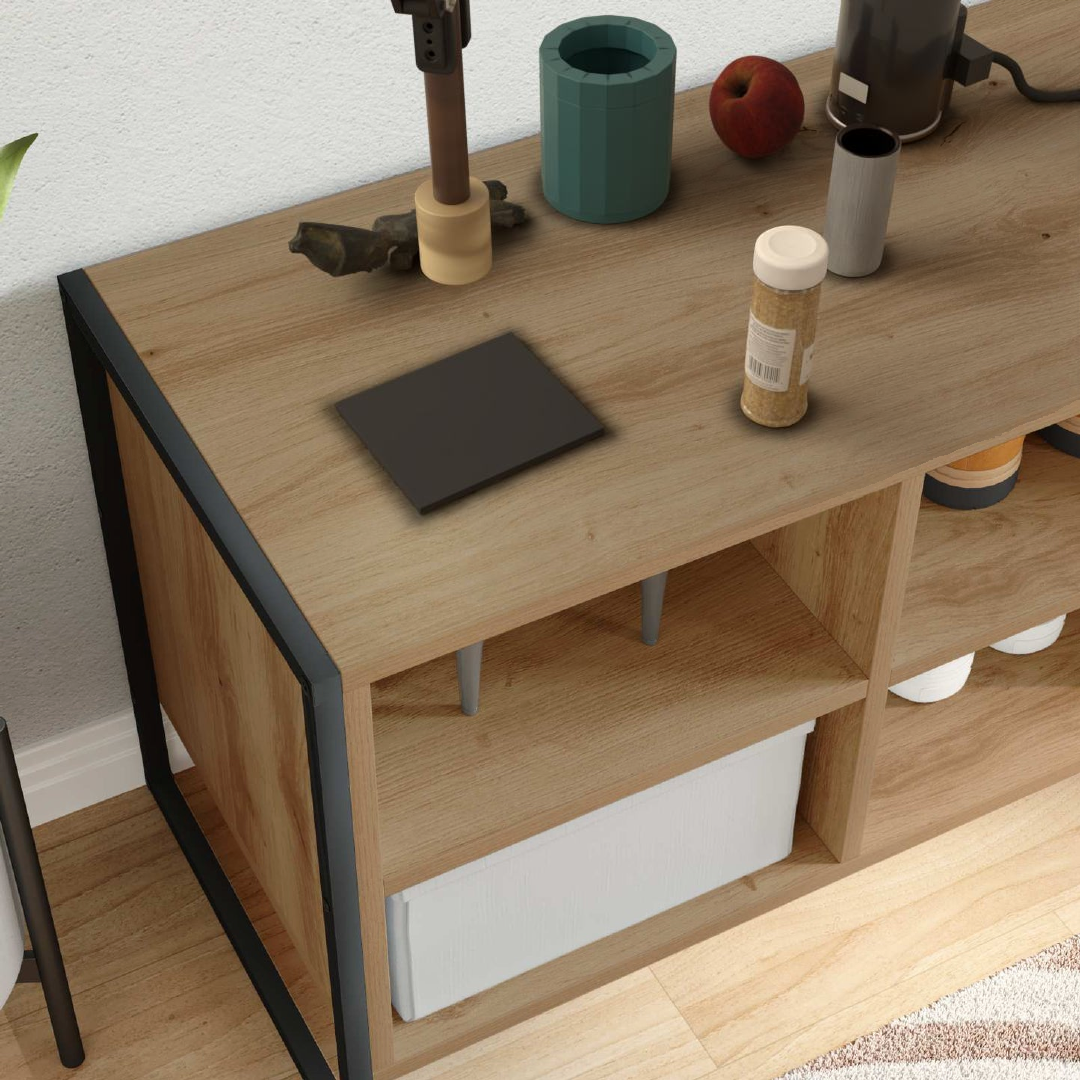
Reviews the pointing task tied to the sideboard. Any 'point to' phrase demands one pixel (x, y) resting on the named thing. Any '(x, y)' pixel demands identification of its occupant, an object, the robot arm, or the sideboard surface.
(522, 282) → the sideboard surface
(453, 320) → the sideboard surface
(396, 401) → the mat
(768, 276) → the spice bottle
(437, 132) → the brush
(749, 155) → the apple
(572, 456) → the sideboard surface
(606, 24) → the jar
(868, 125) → the grey hollow cylinder
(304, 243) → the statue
